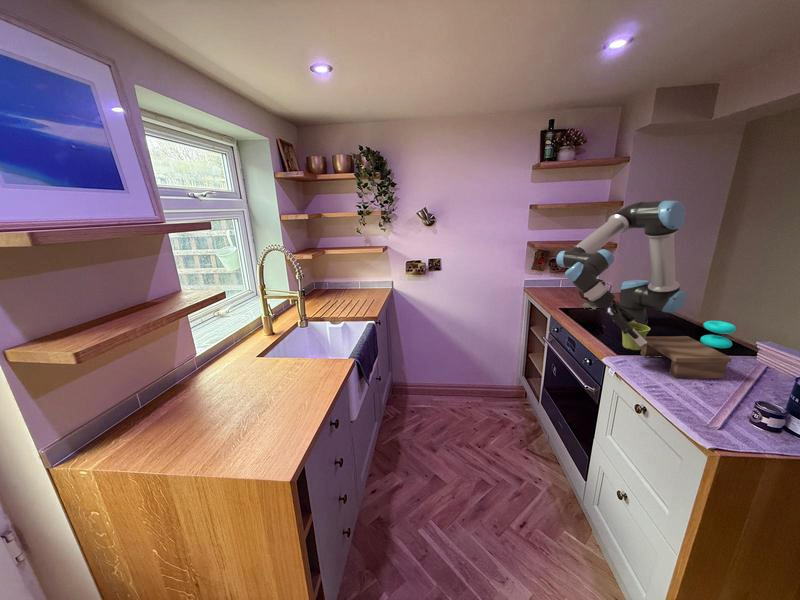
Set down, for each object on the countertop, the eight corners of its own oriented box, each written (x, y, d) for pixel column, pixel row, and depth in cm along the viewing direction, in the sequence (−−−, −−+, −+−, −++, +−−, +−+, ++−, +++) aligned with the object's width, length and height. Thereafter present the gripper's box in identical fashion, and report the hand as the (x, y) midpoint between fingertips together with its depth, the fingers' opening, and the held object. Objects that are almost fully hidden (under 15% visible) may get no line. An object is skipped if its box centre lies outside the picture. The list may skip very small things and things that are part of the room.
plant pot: (612, 342, 127) (614, 322, 125) (635, 341, 127) (638, 321, 124) (627, 353, 118) (630, 331, 116) (653, 351, 118) (656, 330, 115)
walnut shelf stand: (637, 353, 133) (640, 336, 131) (683, 353, 131) (687, 336, 129) (672, 378, 114) (676, 358, 112) (726, 378, 112) (731, 358, 110)
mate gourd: (607, 307, 194) (611, 275, 188) (591, 311, 189) (595, 278, 183) (584, 301, 207) (588, 272, 202) (569, 304, 202) (572, 274, 197)
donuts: (698, 319, 141) (725, 319, 138) (694, 339, 144) (720, 340, 141) (714, 327, 132) (743, 328, 129) (709, 348, 134) (737, 350, 132)
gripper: (593, 294, 135) (633, 334, 130) (587, 308, 118) (633, 355, 113) (609, 283, 131) (652, 324, 126) (605, 296, 114) (654, 345, 109)
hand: (643, 339), depth 120 cm, fingers closed on plant pot, 9 cm apart
